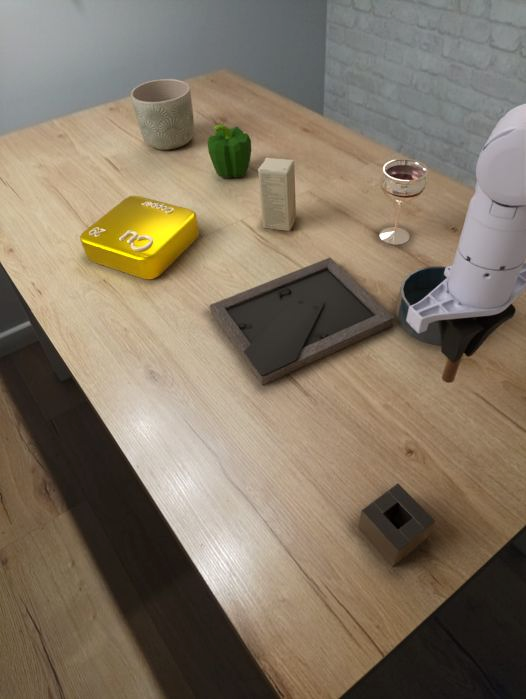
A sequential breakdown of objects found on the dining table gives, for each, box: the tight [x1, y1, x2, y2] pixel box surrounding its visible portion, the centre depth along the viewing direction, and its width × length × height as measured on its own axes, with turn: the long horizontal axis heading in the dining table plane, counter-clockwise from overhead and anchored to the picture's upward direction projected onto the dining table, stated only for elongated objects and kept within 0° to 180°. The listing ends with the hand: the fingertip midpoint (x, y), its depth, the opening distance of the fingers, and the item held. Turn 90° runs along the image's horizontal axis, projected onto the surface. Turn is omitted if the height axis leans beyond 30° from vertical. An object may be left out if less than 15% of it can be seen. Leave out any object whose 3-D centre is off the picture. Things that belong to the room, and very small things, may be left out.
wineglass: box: [379, 158, 429, 246], centre depth 83 cm, size 7×7×12 cm
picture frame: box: [209, 257, 395, 386], centre depth 74 cm, size 16×2×21 cm
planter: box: [130, 78, 195, 151], centre depth 111 cm, size 12×12×11 cm
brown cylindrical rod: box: [441, 317, 476, 384], centre depth 55 cm, size 1×1×10 cm
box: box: [257, 157, 297, 232], centre depth 87 cm, size 5×4×11 cm
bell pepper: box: [206, 124, 252, 179], centre depth 100 cm, size 8×8×10 cm
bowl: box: [395, 265, 447, 346], centre depth 72 cm, size 11×11×4 cm
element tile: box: [79, 195, 200, 280], centre depth 87 cm, size 15×15×5 cm
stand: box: [357, 482, 436, 568], centre depth 51 cm, size 5×5×4 cm
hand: (456, 352), depth 56 cm, fingers closed on brown cylindrical rod, 1 cm apart
